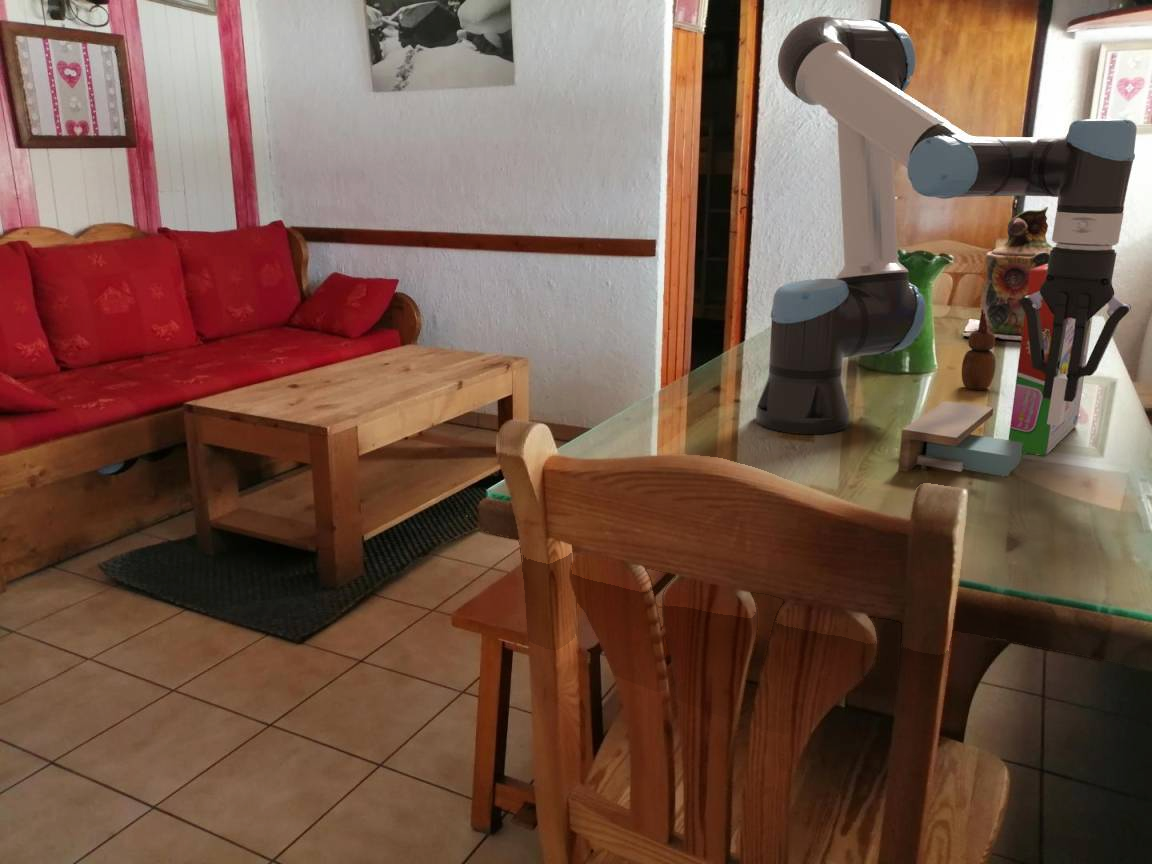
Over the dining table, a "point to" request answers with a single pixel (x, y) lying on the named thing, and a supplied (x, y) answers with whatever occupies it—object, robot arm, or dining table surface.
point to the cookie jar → (1012, 275)
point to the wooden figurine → (979, 358)
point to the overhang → (940, 433)
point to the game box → (1042, 383)
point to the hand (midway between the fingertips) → (1054, 422)
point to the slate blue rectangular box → (981, 454)
